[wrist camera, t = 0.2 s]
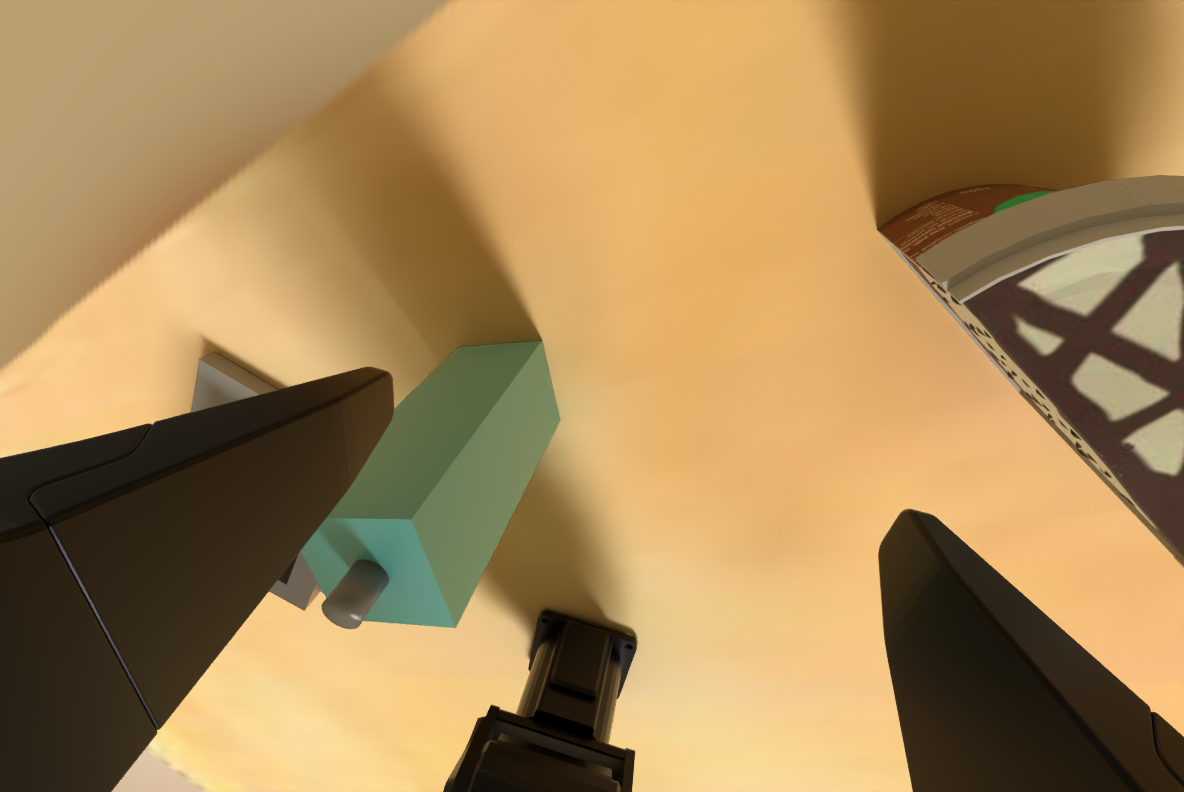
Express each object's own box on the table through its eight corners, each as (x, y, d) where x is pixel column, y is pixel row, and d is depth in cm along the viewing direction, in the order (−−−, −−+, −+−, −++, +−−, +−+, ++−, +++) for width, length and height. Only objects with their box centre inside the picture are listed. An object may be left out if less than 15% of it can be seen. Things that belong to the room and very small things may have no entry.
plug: (560, 420, 28) (433, 671, 16) (481, 422, 29) (308, 658, 17) (542, 340, 26) (381, 559, 14) (458, 346, 27) (243, 553, 15)
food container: (1223, 322, 19) (1613, 505, 11) (1041, 418, 22) (1233, 619, 14) (1025, 53, 17) (1325, 17, 8) (851, 201, 20) (943, 284, 12)
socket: (431, 480, 32) (396, 527, 28) (365, 600, 39) (331, 649, 35) (214, 351, 30) (149, 385, 27) (188, 501, 38) (134, 542, 34)
